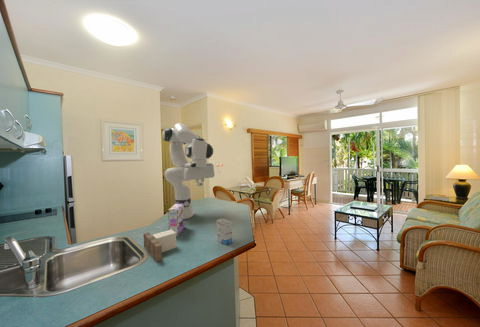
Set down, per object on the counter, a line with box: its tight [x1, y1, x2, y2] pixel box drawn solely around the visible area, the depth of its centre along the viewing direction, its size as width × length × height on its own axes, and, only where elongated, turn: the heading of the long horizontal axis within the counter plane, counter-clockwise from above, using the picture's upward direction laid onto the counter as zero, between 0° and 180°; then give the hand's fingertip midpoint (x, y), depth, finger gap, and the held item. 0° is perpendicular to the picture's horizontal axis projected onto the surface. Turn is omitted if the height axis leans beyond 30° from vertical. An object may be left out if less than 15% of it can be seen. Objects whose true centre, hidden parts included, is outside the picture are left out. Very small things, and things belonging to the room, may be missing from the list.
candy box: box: [167, 203, 185, 237], centre depth 122 cm, size 14×6×16 cm, turn 0°
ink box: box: [216, 218, 233, 246], centre depth 108 cm, size 9×5×12 cm, turn 44°
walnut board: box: [143, 232, 163, 262], centre depth 97 cm, size 20×2×7 cm, turn 42°
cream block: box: [151, 229, 177, 253], centre depth 101 cm, size 6×10×8 cm, turn 132°
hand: (200, 185), depth 122 cm, fingers closed
